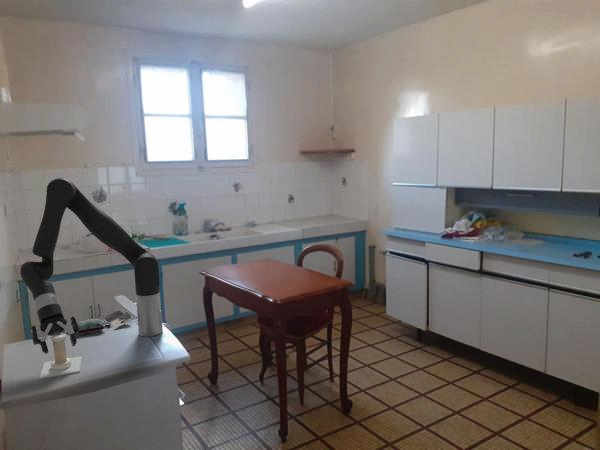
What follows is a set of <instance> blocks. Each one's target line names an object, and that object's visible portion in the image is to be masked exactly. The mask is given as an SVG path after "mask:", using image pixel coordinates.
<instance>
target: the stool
mask: <svg viewBox="0 0 600 450" xmlns="http://www.w3.org/2000/svg"><path fill="white" fill-rule="evenodd" d="M66 335H67V334H64V333H61V334H55V335H53V336H50V339H51V342H52V345H53V346H52V348H53V356H54V360H52V361H53V362H51V370H54V371H59V370H64V369H67V368H69V367H70V366H71V365H72V361H71V359H70V358H71V357H67V350H66V341H65V340H66V339H67V336H66Z"/></svg>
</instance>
